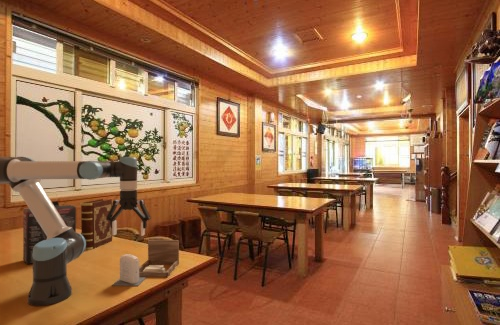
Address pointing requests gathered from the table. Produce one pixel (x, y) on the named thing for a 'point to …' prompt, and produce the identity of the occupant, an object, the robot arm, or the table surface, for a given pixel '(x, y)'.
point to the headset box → (36, 233)
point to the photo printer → (129, 268)
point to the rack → (161, 256)
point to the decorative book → (96, 223)
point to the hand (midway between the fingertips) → (128, 235)
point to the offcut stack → (154, 268)
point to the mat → (123, 283)
